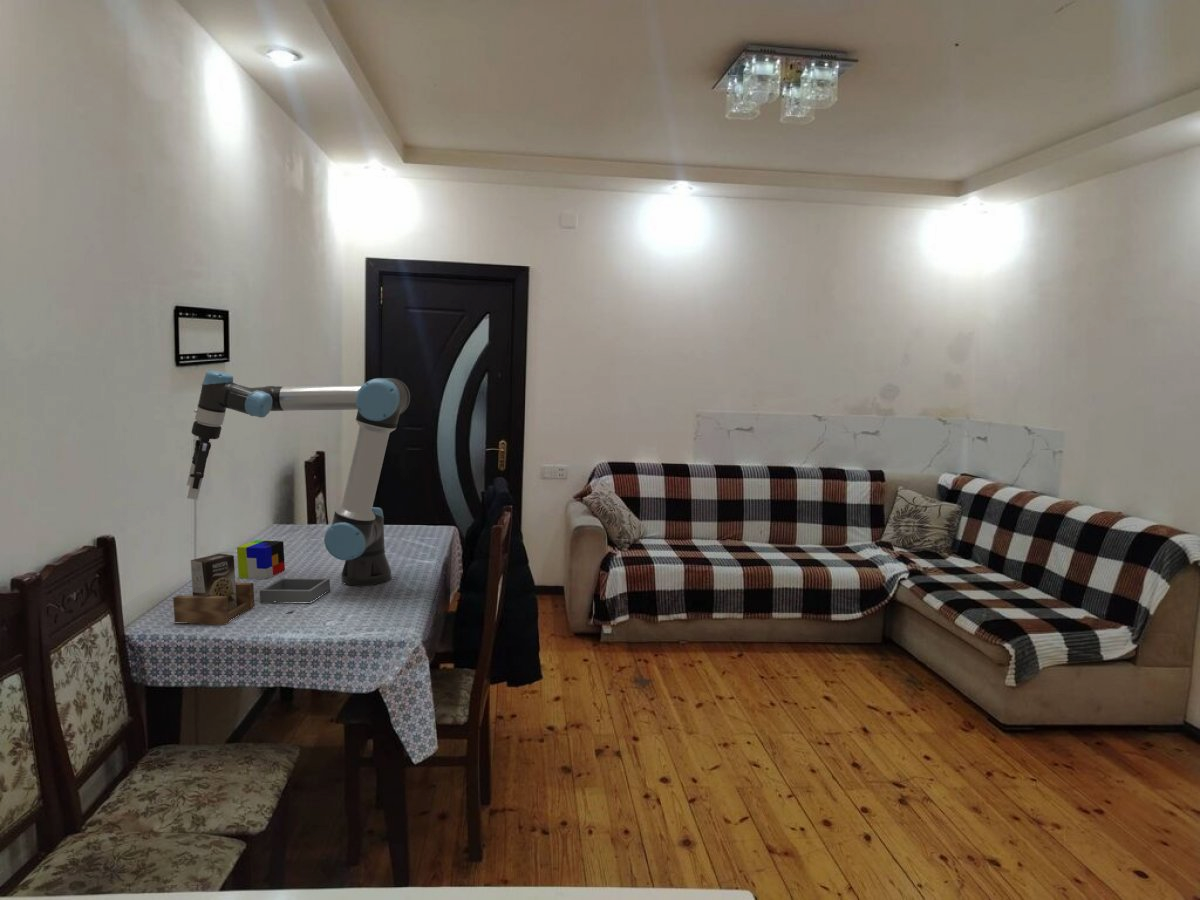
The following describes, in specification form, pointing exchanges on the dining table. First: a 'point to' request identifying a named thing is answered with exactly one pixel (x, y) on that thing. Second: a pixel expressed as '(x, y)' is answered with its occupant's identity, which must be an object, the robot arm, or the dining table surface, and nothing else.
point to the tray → (294, 590)
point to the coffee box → (214, 577)
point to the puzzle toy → (260, 559)
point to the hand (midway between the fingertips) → (191, 492)
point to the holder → (213, 606)
